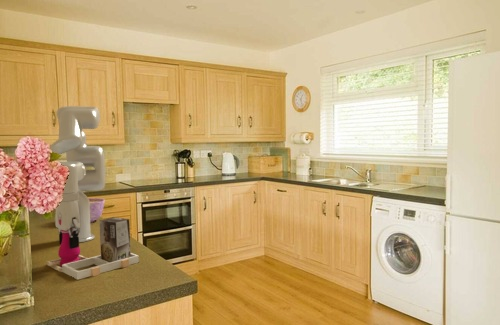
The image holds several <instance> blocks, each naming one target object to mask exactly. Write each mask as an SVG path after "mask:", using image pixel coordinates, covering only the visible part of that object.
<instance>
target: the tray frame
mask: <svg viewBox="0 0 500 325" xmlns="http://www.w3.org/2000/svg"><path fill="white" fill-rule="evenodd" d="M78 258H79V260H83V259H87V258H88V257H86V256H83V255H81V254H79V256H78ZM60 260H62V259H61V258H60V257H59V258H57V259H52V260H47V261H46V265H47V266H48V267H50V268H52V269H54V270H56V271H58V272H60V273H63V272H62V266H60V265H57V264H60Z"/></svg>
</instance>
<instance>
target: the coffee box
mask: <svg viewBox="0 0 500 325" xmlns="http://www.w3.org/2000/svg"><path fill="white" fill-rule="evenodd" d="M130 228H131V227H130V218H122V217H114V216H113V217H108V218H105V219H104V218H103V219H99V237H100V238H99V240H100V241H99V242H100V255H101V259H102V260H105V261H107V262H114V261H118V260H121V259H125V258H129V257H131V254H130V253H131V230H130Z"/></svg>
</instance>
